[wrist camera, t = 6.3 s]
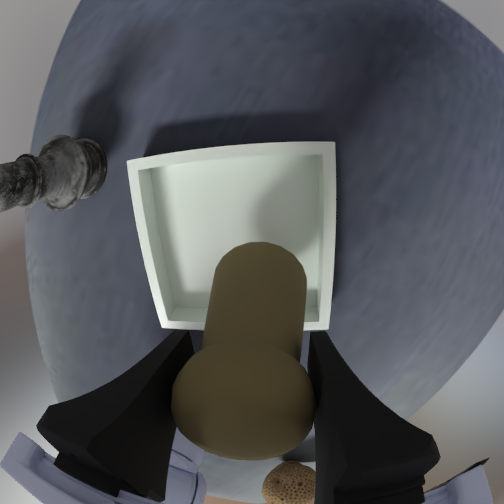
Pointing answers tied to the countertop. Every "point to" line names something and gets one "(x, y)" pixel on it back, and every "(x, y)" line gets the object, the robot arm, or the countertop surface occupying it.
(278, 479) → the natural sponge
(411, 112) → the countertop surface
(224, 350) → the cork
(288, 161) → the tray
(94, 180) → the gray chess piece
